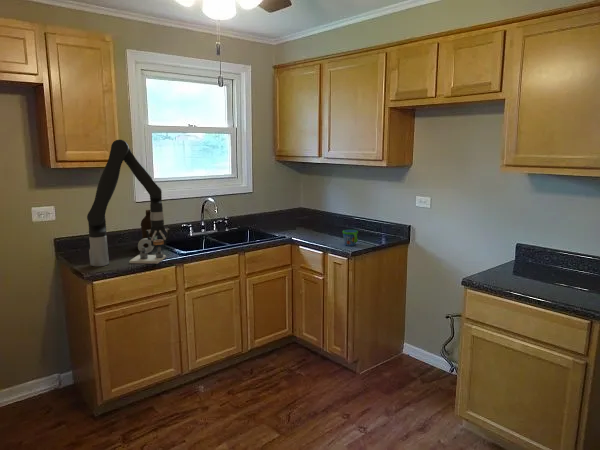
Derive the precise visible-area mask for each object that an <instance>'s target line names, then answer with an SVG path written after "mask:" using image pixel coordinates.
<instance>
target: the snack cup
mask: <svg viewBox="0 0 600 450" xmlns="http://www.w3.org/2000/svg"><path fill="white" fill-rule="evenodd" d="M358 233H359V230H357V229H343V230H342V238H343V241H344V242H343V243H344V245H345V246H346V245H347V247H354V246H356V243H358V241H359V239H358Z"/></svg>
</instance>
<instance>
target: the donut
mask: <svg viewBox="0 0 600 450" xmlns="http://www.w3.org/2000/svg"><path fill="white" fill-rule="evenodd" d="M145 243H147V244H148V245H149V246H148V247H145V252H148V254H149V253H152V251H153V249H154V248H155V246H154V247H153V246H152V245H151V240H148V238H144V239H143V238H141V239H140V240H139V241H138V244H137V249H138V251H139V253H140V252H142V248H143V247H144V246H143V245H144V244H145Z"/></svg>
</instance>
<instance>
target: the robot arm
mask: <svg viewBox="0 0 600 450" xmlns="http://www.w3.org/2000/svg"><path fill="white" fill-rule="evenodd" d="M123 162H124V163H125V164H126V165H127V167H128V168H129V169H130V171H131V172H132V174H133V176H134V177H135V178H136V179H137V181H138V182H139V183H140V185H142V187H144V190H145V191H146V192H147V193H148V195H149V199H150V200H149V201H150V203H149V204H150V205H149V206H150V207H149V208H150V209H149V210H150V212H151V214H150V217H151V229H150V230H146V234H147V238H148V240H151V245H152V246H153V247H154V248H155V246H154V244H153V241H154V240H153V239H154V237H155V236H157V237H158V236H161V237H162V240H164V244H163V246H164V247H166V245H167V239H168V240H169V239H170V232H171V231H170V229H171V228H166V227H165V220H164V219H165V217H164V210H163V208H164V207H163V202H162V201H163V200H162V195H163V194H162V193H163V192H162V191H163V190H162V188H161V187H160V186H159V185H157V183H156V182H155V180H153V177H152V176H151V175H150V173H149V172H148V171H147V170H146V168H145V167H144V166H143V165H142V164H141V163H140V162H139V160H138V159H137V158H136V157H135V155H134V154H133V153H132V150H131V148H130V146H129V144H128V142H127V141H125V140H124V139H116V140H114V141H113V142H112V143H111V146H110V152H109V155H108V158H107V161H106V165H104V169H103V171H102V172H101V175H100V178H99V181H98V182H97V183H98V184H97V187H96V192H95V196H94V201H93V203H92V204H91V207H90V210H89V211H88V213H87V215H86V219H87V222H88V223H87V224H88V235H89V236H88V238H89V239H88V240H89V249H88V254H89V255H88V256H89V265H90V266H93V267H105V266H107V265H109V264H110V260H109V259H110V258H109V249H108V236H107V224H106V223H107V221H106V211H107V208H108V205H109V202H110V200H111V198H112V196H113V194H114V192H115V189H116V187H117V185H118V181H119V178H120V172H121V168H122V164H123ZM150 231H151V232H152V233H153V235H152V238H150V236H149V233H150ZM165 232H166V236H165V234H164V233H165Z"/></svg>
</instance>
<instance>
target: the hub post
mask: <svg viewBox="0 0 600 450" xmlns="http://www.w3.org/2000/svg"><path fill="white" fill-rule="evenodd" d="M155 255H156V258H162V257H163V255H164V252H162V247H161V246H158V247H157V252H155Z"/></svg>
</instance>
